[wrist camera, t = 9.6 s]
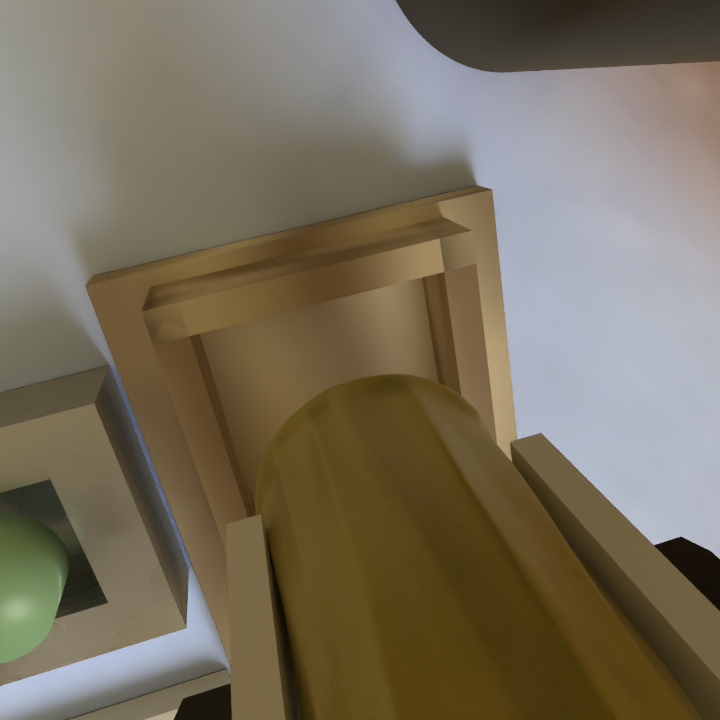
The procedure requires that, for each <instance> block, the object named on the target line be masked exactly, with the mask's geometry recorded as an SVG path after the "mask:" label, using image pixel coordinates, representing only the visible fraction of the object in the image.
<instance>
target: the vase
mask: <svg viewBox="0 0 720 720" xmlns="http://www.w3.org/2000/svg"><path fill="white" fill-rule="evenodd" d="M254 499H255V510H256V515H260V514H261V516H262V519H263V522H264V526H265V529H266V532H267V538H268V544H269V549H270V554H271V558H272V562H273V566H274V571H275V575H276V579H277V583H278V587H279V591H280V595H281V599H282V604H283V609H284V614H285V619H286V625H287V630H288V636H289V642H290V647H291V653H292V659H293V665H294V672H295V679H296V686H297V693H298V701H299V708H300V715H301V720H703V718H702V717H701V716H700V714H699V713H698V712H697V710H696V709H695V708H694V706H693V705H692V703H691V702H690V700H689V699H688V697H687V696H686V694H685V693H684V691H683V690H682V688H681V687H680V685H679V684H678V682H677V681H676V679H675V678H674V676H673V675H672V673H671V672H670V670H669V669H668V667H667V666H666V665H665V663H664V662H663V661H662V660H661V658H660V657H659V656H658V654H657V653H656V652H655V650H654V649H653V648H652V647H651V645H650V644H649V643H648V642H647V640H646V639H645V638H644V637H643V636H642V634H641V633H640V632H639V631H638V629H637V628H636V627H635V626H634V625H633V623H632V622H631V621H630V620H629V618H628V617H627V616H626V614H625V613H624V612H623V610H622V609H621V608H620V607H619V605H618V604H617V603H616V602H615V600H614V599H613V598H612V597H611V595H610V594H609V593H608V592H607V590H606V589H605V588H604V587H603V585H602V584H601V583H600V582H599V580H598V579H597V578H596V577H595V576H594V574H593V573H592V572H591V571H590V570H589V568H588V567H587V566H586V565H585V563H584V562H583V561H582V560H581V559H580V557H579V556H578V555H577V554H576V552H575V551H574V550H573V549H572V547H571V546H570V545H569V544H568V542H567V541H566V539H565V538H564V536H563V535H562V533H561V532H560V530H559V529H558V527H557V526H556V524H555V523H554V521H553V519H552V518H551V517H550V515H549V514H548V512H547V511H546V509H545V508H544V506H543V505H542V503H541V502H540V500H539V499H538V497H537V496H536V495H535V493H534V492H533V490H532V489H531V488H530V486H529V485H528V483H527V482H526V480H525V479H524V478H523V476H522V475H521V473H520V472H519V471H518V469H517V468H516V467H515V466H514V464H513V463H512V462H511V461H510V459H509V458H508V457H507V456H506V455H505V453H504V452H503V451H502V450H501V448H500V447H499V446H498V445H497V444H496V443H495V442H494V441H493V438H492V436H491V434H490V432H489V430H488V428H487V426H486V424H485V422H484V421H483V419H482V417H481V416H480V414H479V413H478V411H477V410H476V408H474V407H473V406H472V405H471V404H470V403H469V402H468V401H467V400H466V399H465V398H464V397H462V396H461V395H459V394H458V393H457V392H455V391H453V390H451V389H450V388H448V387H446V386H444V385H442V384H439V383H437V382H434V381H432V380H429V379H425V378H422V377H418V376H413V375H408V374H383V375H375V376H368V377H364V378H359V379H355V380H352V381H348V382H345V383H342V384H339V385H337V386H334V387H332V388H330V389H328V390H326V391H324V392H322V393H321V394H319V395H317V396H316V397H314V398H312V399H311V400H310V401H308V402H307V403H306V404H304V405H303V406H302V407H301V408H300V409H298V410H297V411H296V412H295V413H294V414H293V415H292V416H291V417H290V418H289V419H288V420H287V421H286V422H285V423H284V424H283V425H282V426H281V428H280V429H279V430H278V431H277V433H276V434H275V436H274V437H273V439H272V440H271V442H270V444H269V446H268V448H267V450H266V452H265V454H264V456H263V459H262V461H261V464H260V467H259V470H258V474H257V479H256V484H255V495H254Z"/></svg>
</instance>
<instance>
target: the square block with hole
mask: <svg viewBox="0 0 720 720" xmlns="http://www.w3.org/2000/svg"><path fill="white" fill-rule="evenodd" d="M0 511H4V512H13V513H18V514H22V515H25V516H29V517H31V518H33V519H36V520H38V521H39V522H41V523H43V524H45V525H46V526H47V527H49V528H50V529H51V530H53V531H54V532H55V533H56V534H57V535H58V537H59V538H60V539H61V540H62V542H63V544H64V545H65V547H66V550H67V553H68V557H69V573H68V577H67V580H66V583H65V586H64V590H63V593H62V596H61V599H60V603H59V606H58V609H57V612H56V616H55V619H54V622H53V625H52V627H51V629H50V631H49V633H48V635H47V636H46V637H45V639H44V640H43V641H42V642H41V643H40V644H39V645H38V646H37V647H35V648H34V649H33V650H32V651H30V652H28V653H27V654H25V655H23V656H21V657H19V658H17V659H14V660H12V661H9V662H5V663H1V664H0V686H1V685H5V684H8V683H11V682H14V681H17V680H21V679H24V678H27V677H30V676H34V675H37V674H40V673H43V672H46V671H50V670H53V669H56V668H59V667H63V666H66V665H69V664H72V663H75V662H79V661H82V660H85V659H88V658H92V657H95V656H98V655H101V654H104V653H108V652H111V651H114V650H117V649H120V648H124V647H127V646H130V645H133V644H137V643H140V642H143V641H146V640H149V639H153V638H156V637H159V636H162V635H166V634H169V633H172V632H175V631H178V630H182V629H185V628H186V623H187V602H188V581H189V569H188V567H187V564H186V562H185V559H184V556H183V554H182V551H181V549H180V546H179V543H178V541H177V538H176V536H175V533H174V531H173V528H172V525H171V523H170V520H169V518H168V515H167V513H166V510H165V507H164V505H163V502H162V500H161V497H160V495H159V492H158V489H157V487H156V484H155V482H154V479H153V476H152V474H151V471H150V469H149V466H148V464H147V461H146V458H145V456H144V453H143V451H142V448H141V446H140V443H139V440H138V438H137V435H136V433H135V430H134V428H133V425H132V422H131V420H130V417H129V415H128V412H127V409H126V407H125V404H124V402H123V399H122V397H121V394H120V391H119V389H118V386H117V384H116V381H115V379H114V376H113V373H112V371H111V368H110V366H109V365H108V366H104V367H100V368H96V369H92V370H88V371H85V372H81V373H77V374H73V375H69V376H65V377H61V378H57V379H53V380H49V381H45V382H41V383H37V384H33V385H29V386H25V387H21V388H18V389H14V390H10V391H6V392H2V393H0Z"/></svg>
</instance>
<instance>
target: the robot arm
mask: <svg viewBox="0 0 720 720" xmlns="http://www.w3.org/2000/svg"><path fill="white" fill-rule="evenodd" d="M510 449H511V459H512V463H513V464H514V466H515V467H516V468H517V469H518V471H519V472H520V473H521V475H522V476H523V478H524V479H525V480H526V482H527V483H528V485H529V486H530V488H531V489H532V490H533V492H534V493H535V495H536V496H537V497H538V499H539V500H540V502H541V503H542V505H543V506H544V508H545V509H546V511H547V512H548V514H549V515H550V517H551V518H552V519H553V521H554V523H555V524H556V526H557V527H558V529H559V530H560V532H561V533H562V535H563V536H564V538H565V539H566V541H567V542H568V544H569V545H570V546H571V547H572V549H573V550H574V551H575V552H576V554H577V555H578V556H579V557H580V559H581V560H582V561H583V562H584V563H585V565H586V566H587V567H588V568H589V570H590V571H591V572H592V573H593V574H594V576H595V577H596V578H597V579H598V580H599V582H600V583H601V584H602V585H603V587H604V588H605V589H606V590H607V592H608V593H609V594H610V595H611V597H612V598H613V599H614V600H615V602H616V603H617V604H618V605H619V607H620V608H621V609H622V610H623V612H624V613H625V614H626V616H627V617H628V618H629V620H630V621H631V622H632V623H633V625H634V626H635V627H636V628H637V629H638V631H639V632H640V633H641V634H642V636H643V637H644V638H645V639H646V640H647V642H648V643H649V644H650V645H651V647H652V648H653V649H654V650H655V652H656V653H657V654H658V656H659V657H660V658H661V660H662V661H663V662H664V663H665V665H666V666H667V667H668V669H669V670H670V672H671V673H672V675H673V676H674V678H675V679H676V681H677V682H678V684H679V685H680V687H681V688H682V690H683V691H684V693H685V694H686V696H687V697H688V699H689V700H690V702H691V703H692V705H693V706H694V708H695V709H696V710H697V712H698V713H699V714H700V716H701V717H702V718H703V720H720V559H719V558H718V557H717V556H715V555H714V554H713V553H712V552H711V551H709V550H707V549H705V548H703V547H701V546H699V545H697V544H695V543H693V542H691V541H689V540H687V539H685V538H683V537H679V538H675V539H672V540H669V541H666V542H663V543H660V544H657V545H653V544H652V543H651V542H650V541H649V540H648V539H647V538H646V537H645V536H644V535H643V534H642V533H641V532H640V531H639V530H638V529H637V528H636V527H635V526H634V525H633V524H632V523H631V522H630V521H629V520H628V519H627V518H626V517H625V516H624V515H623V514H622V513H621V512H620V511H619V510H618V509H617V508H616V507H615V506H614V505H613V504H612V503H611V502H610V501H609V500H608V499H607V498H606V497H605V496H604V495H603V494H602V493H601V492H600V491H599V490H598V489H597V488H596V487H595V486H594V485H593V484H592V483H591V482H590V481H589V480H588V479H587V478H586V477H585V476H584V475H583V474H582V473H581V472H580V471H579V470H578V469H577V468H576V467H575V466H574V465H573V464H572V463H571V462H570V461H569V460H568V459H567V458H566V457H565V456H564V455H563V454H562V453H561V452H560V451H559V450H558V449H557V448H556V447H555V446H554V445H553V444H552V443H551V442H550V441H549V440H548V439H547V438H546V437H545V436H544V435H543V434H542V433H539V434H536V435H532V436H529V437H525V438H522V439H518V440H515V441H511V442H510ZM226 546H227V577H228V609H229V641H230V673H231V683H230V684H227V685H224V686H220V687H217V688H214V689H211V690H208V691H205V692H202V693H199V694H196V695H192V696H189V697H186V698H183V700H182V702H181V704H180V706H179V709H178V711H177V713H176V715H175V718H174V720H301V715H300V708H299V701H298V693H297V686H296V679H295V672H294V665H293V659H292V653H291V647H290V642H289V636H288V630H287V625H286V619H285V614H284V609H283V604H282V599H281V595H280V591H279V587H278V583H277V579H276V575H275V571H274V566H273V562H272V558H271V554H270V549H269V544H268V538H267V532H266V529H265V526H264V522H263V519H262V516H261V514H260V515H256V516H253V517H249V518H246V519H242V520H239V521H235V522H232V523H228V524H226Z"/></svg>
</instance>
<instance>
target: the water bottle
mask: <svg viewBox="0 0 720 720" xmlns="http://www.w3.org/2000/svg"><path fill="white" fill-rule="evenodd" d="M396 1H397V2H398V4H399V6H400V8H401V9H402V11H403V13H404V14H405V16H406V17H407V19H408V20H409V21H410V23H411V24H412V25H413V27H414V28H415V29H416V30H417V31H418V33H419V34H420V35H421V36H422V37H423V38H424V39H425V40H426V41H427V42H428V43H430V44H431V45H432V46H433V47H434V48H436V49H437V50H438V51H440V52H441V53H442V54H444V55H446V56H447V57H449V58H451V59H452V60H454V61H456V62H458V63H461V64H463V65H466V66H468V67H471V68H475V69H479V70H483V71H490V72H520V71H540V70H559V69H578V68H597V67H617V66H636V65H655V64H674V63H694V62H713V61H720V0H396Z"/></svg>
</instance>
